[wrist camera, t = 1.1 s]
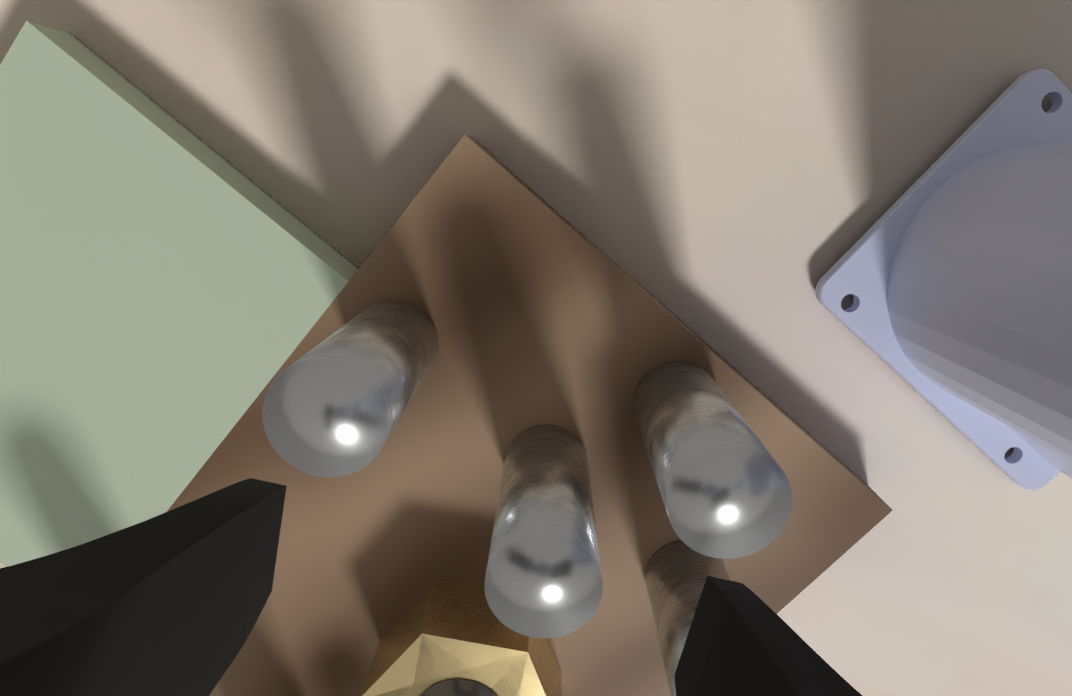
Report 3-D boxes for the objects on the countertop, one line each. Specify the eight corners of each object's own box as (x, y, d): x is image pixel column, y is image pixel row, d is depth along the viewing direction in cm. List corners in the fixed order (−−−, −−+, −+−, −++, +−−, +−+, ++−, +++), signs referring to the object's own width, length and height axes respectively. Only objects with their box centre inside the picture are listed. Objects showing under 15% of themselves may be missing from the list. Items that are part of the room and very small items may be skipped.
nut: (467, 547, 20) (455, 599, 18) (592, 642, 21) (597, 705, 19) (352, 669, 22) (326, 733, 19) (474, 755, 22) (465, 828, 20)
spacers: (836, 484, 19) (956, 617, 14) (359, 926, 24) (298, 1164, 18) (476, 170, 18) (438, 171, 12) (34, 719, 22) (-148, 912, 17)
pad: (363, 273, 20) (348, 281, 18) (113, 588, 23) (83, 617, 21) (68, 32, 18) (26, 20, 17) (-159, 402, 21) (-211, 419, 20)
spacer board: (869, 486, 21) (892, 510, 20) (399, 915, 26) (390, 959, 25) (471, 137, 19) (464, 134, 17) (38, 682, 24) (5, 715, 22)
